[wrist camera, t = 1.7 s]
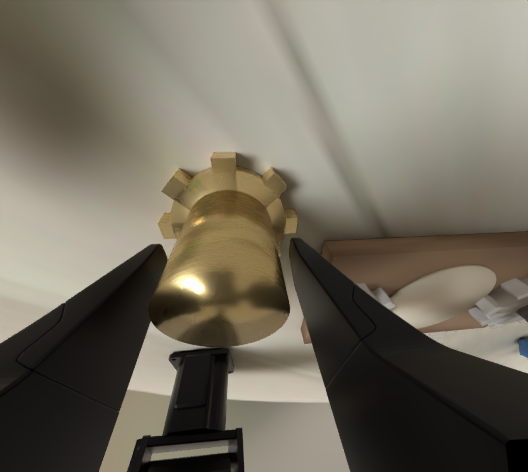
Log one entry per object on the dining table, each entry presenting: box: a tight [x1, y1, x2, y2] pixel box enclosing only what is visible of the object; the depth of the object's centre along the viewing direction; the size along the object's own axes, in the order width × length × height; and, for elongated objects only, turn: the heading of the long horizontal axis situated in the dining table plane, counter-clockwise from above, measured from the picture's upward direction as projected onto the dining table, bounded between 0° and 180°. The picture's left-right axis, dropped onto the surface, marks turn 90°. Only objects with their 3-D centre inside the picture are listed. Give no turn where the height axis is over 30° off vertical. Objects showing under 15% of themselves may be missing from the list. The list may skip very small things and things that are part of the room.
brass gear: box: [148, 152, 298, 347], centre depth 8 cm, size 7×7×6 cm
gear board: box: [301, 232, 528, 344], centre depth 15 cm, size 12×21×4 cm, turn 89°
